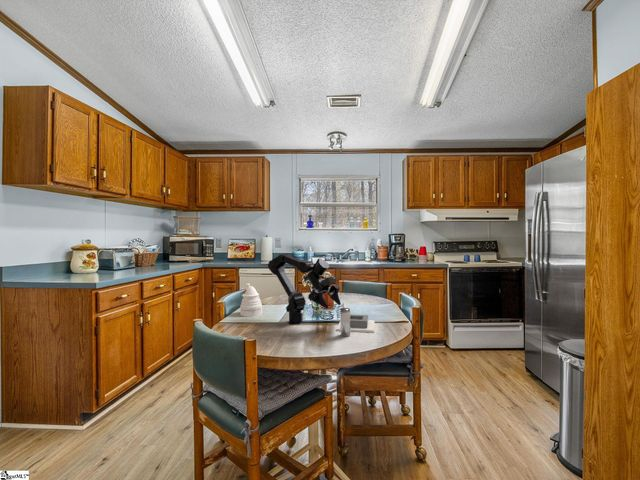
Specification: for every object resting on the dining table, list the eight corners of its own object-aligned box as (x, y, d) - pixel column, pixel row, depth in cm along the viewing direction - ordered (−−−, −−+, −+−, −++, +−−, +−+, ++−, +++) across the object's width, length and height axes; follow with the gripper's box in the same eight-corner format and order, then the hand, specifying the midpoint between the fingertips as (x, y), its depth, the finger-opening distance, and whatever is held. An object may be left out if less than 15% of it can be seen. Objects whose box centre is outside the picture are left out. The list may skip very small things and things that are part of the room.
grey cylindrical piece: (340, 336, 151) (339, 309, 150) (341, 333, 155) (340, 307, 155) (349, 337, 150) (349, 310, 149) (350, 334, 154) (350, 307, 154)
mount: (336, 330, 159) (336, 321, 159) (341, 320, 177) (340, 312, 177) (373, 332, 156) (373, 323, 156) (374, 322, 174) (374, 313, 173)
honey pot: (236, 315, 191) (235, 285, 190) (247, 310, 203) (246, 281, 202) (255, 317, 187) (255, 286, 186) (265, 311, 199) (265, 282, 199)
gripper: (312, 273, 153) (330, 299, 146) (337, 269, 167) (354, 293, 159) (300, 287, 158) (317, 314, 151) (325, 282, 172) (342, 306, 165)
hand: (334, 306), depth 157 cm, fingers open, 9 cm apart
